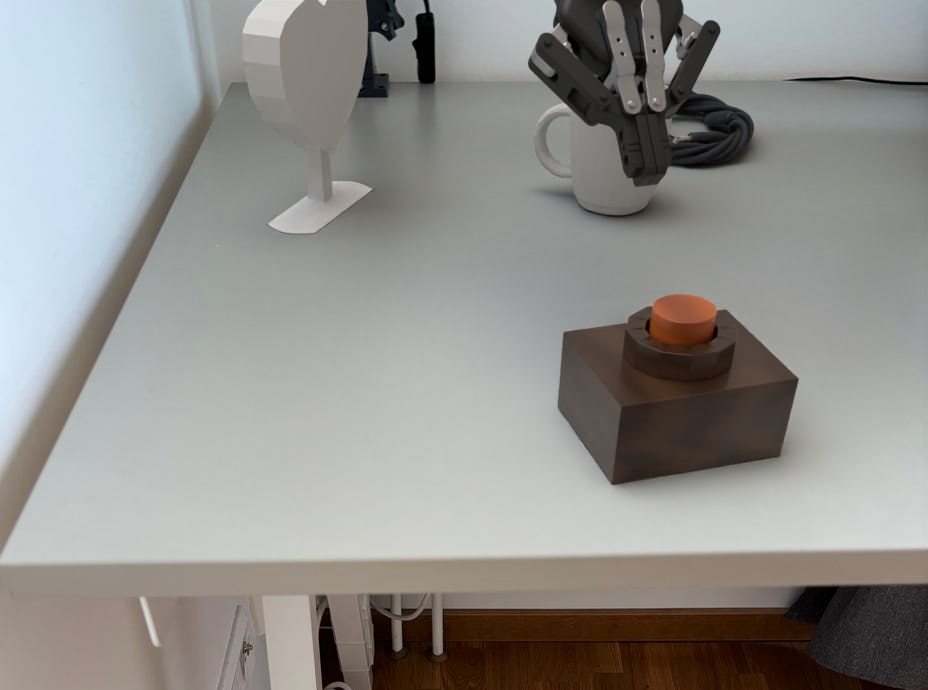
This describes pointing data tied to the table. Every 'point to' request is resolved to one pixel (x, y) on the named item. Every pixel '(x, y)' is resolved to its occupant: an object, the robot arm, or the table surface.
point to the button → (683, 320)
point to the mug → (593, 165)
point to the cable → (711, 143)
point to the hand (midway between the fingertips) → (651, 180)
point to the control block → (673, 398)
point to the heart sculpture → (308, 91)
